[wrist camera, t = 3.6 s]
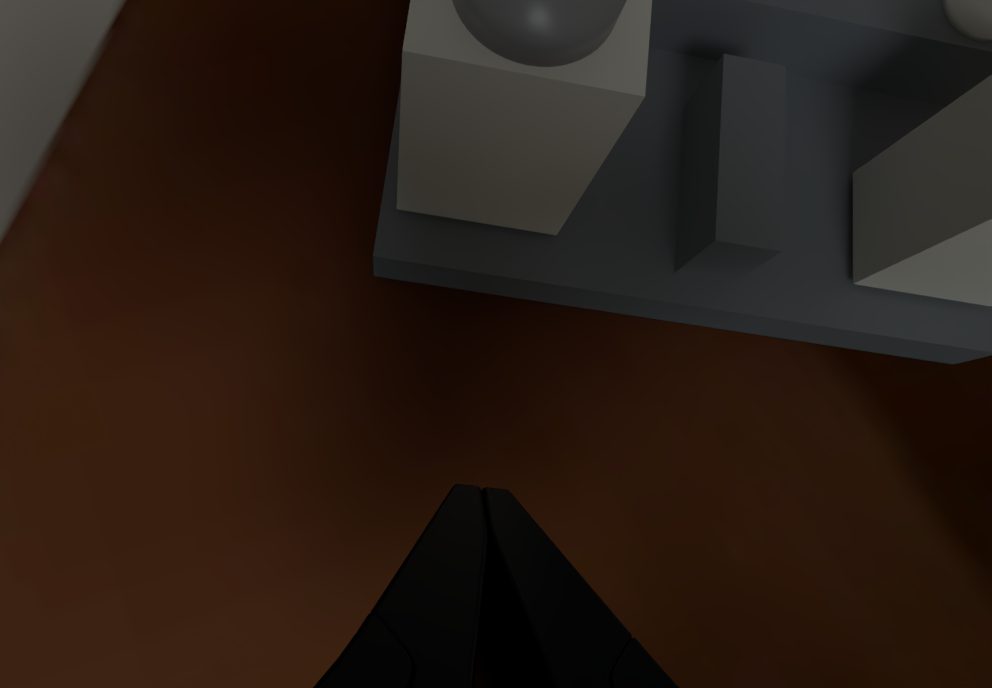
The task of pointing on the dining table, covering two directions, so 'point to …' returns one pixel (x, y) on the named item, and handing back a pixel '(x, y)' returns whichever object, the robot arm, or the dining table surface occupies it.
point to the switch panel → (738, 180)
